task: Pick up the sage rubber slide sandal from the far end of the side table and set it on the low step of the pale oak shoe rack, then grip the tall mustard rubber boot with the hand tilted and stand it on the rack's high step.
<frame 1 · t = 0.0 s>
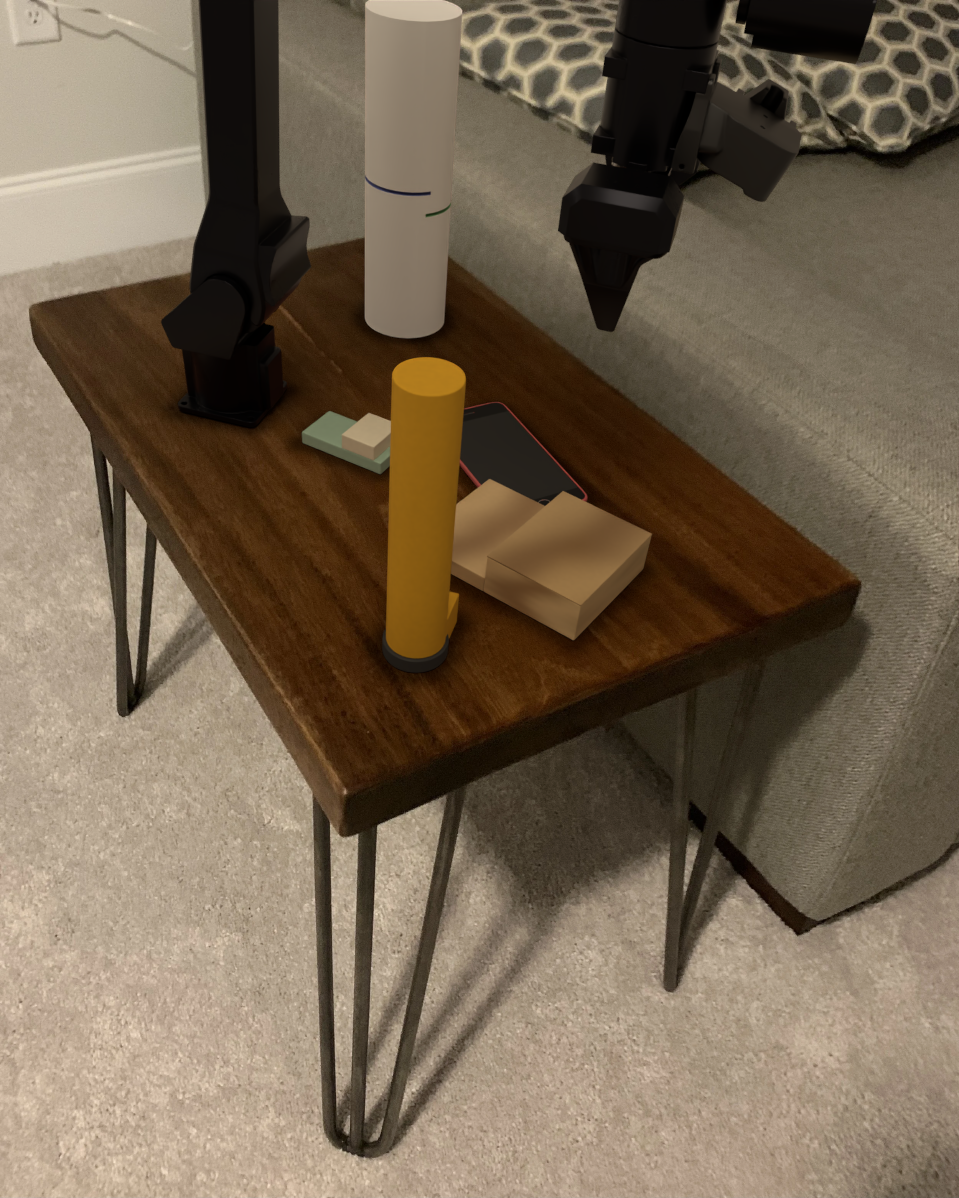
hand: (618, 297, 67), 15 cm above the table, tool pointing down, fingers open, 9 cm apart
sandal: (354, 447, 78), on the table
shoe rack: (527, 560, 70), on the table
boot: (415, 649, 63), on the table
smartphone: (503, 464, 78), on the table, touching shoe rack
cylindrical container: (404, 320, 93), on the table
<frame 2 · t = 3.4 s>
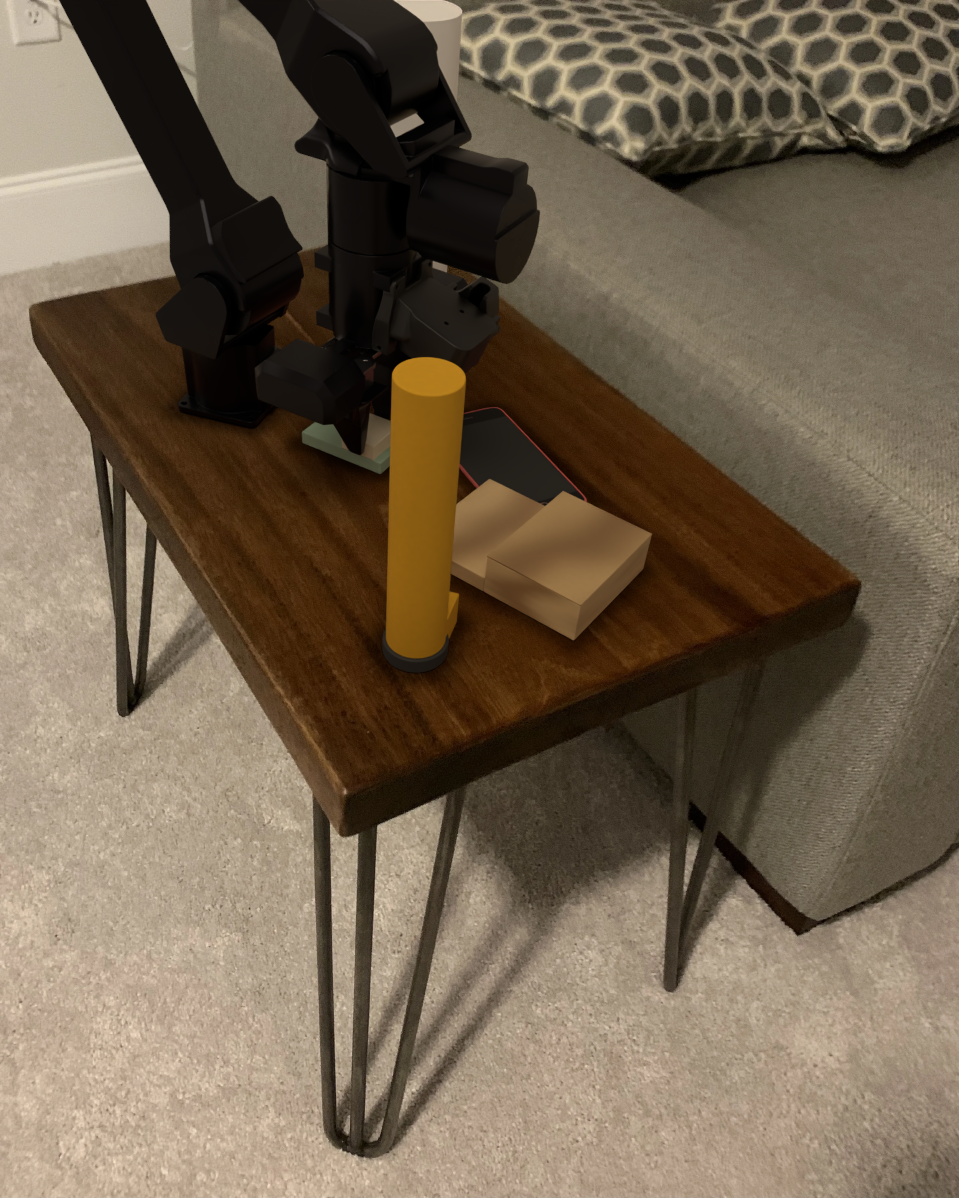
hand: (370, 440, 77), 1 cm above the table, tool pointing down, fingers closed on sandal, 3 cm apart
sandal: (354, 447, 78), on the table, touching gripper
smartphone: (502, 468, 79), on the table
everything else where it was.
when the fingers open (2 cm above the table, at t = 9.0 s): sandal stays where it is, resting on shoe rack.
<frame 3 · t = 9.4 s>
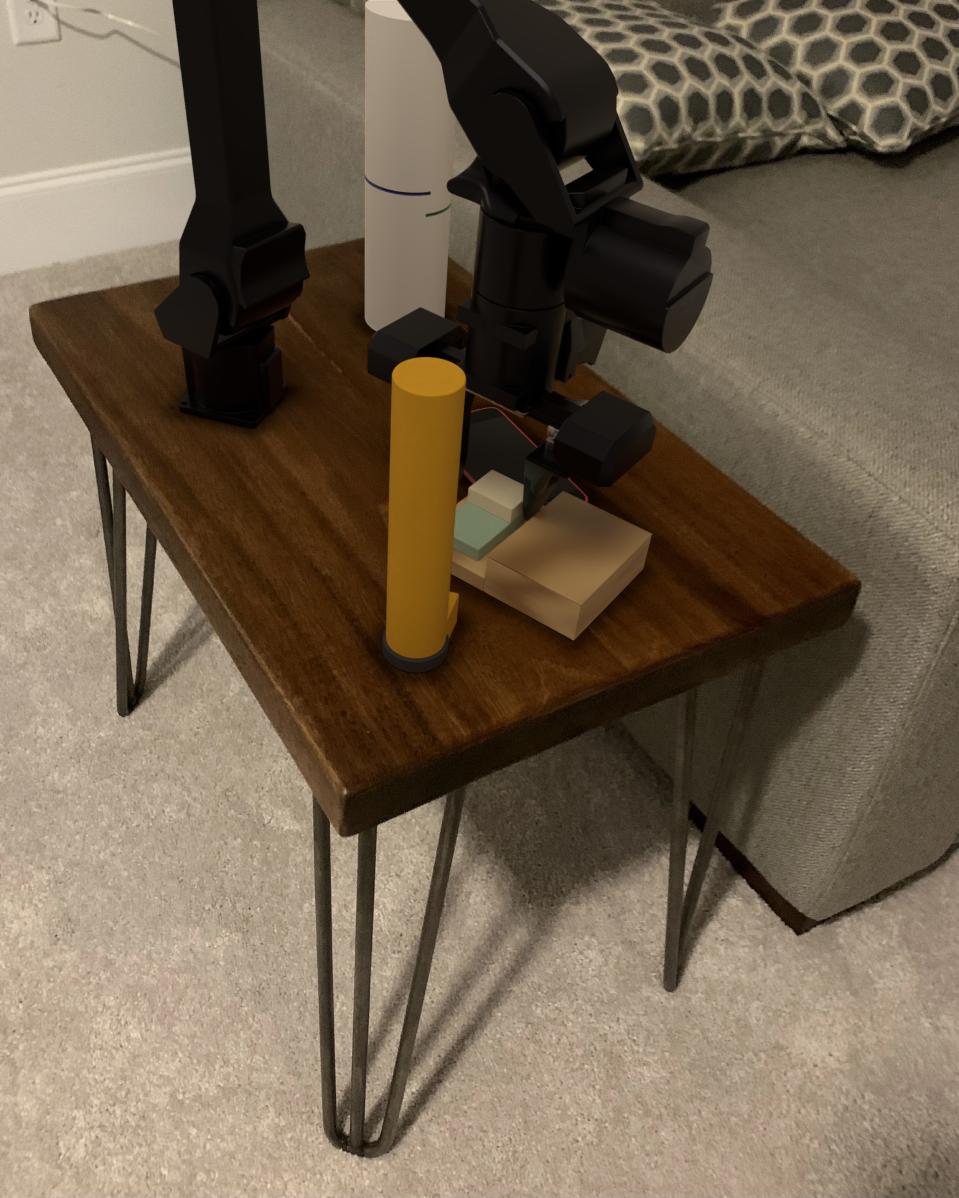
hand: (492, 498, 71), 2 cm above the table, tool pointing down, fingers open, 6 cm apart
sandal: (486, 524, 71), point 1 cm above the table, touching shoe rack
everything else where it was.
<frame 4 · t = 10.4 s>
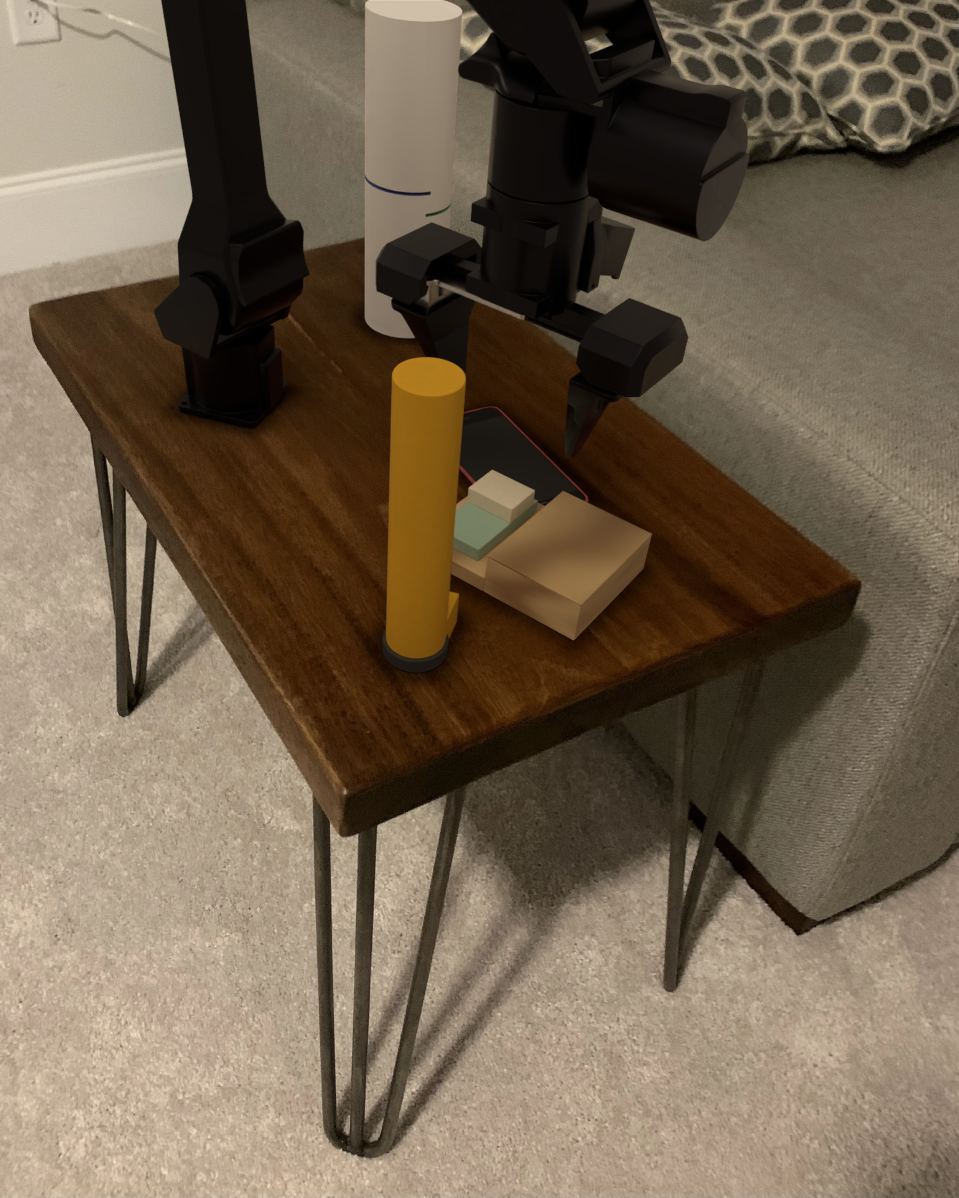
hand: (511, 426, 66), 8 cm above the table, tool pointing down, fingers open, 9 cm apart
nothing on the table moved.
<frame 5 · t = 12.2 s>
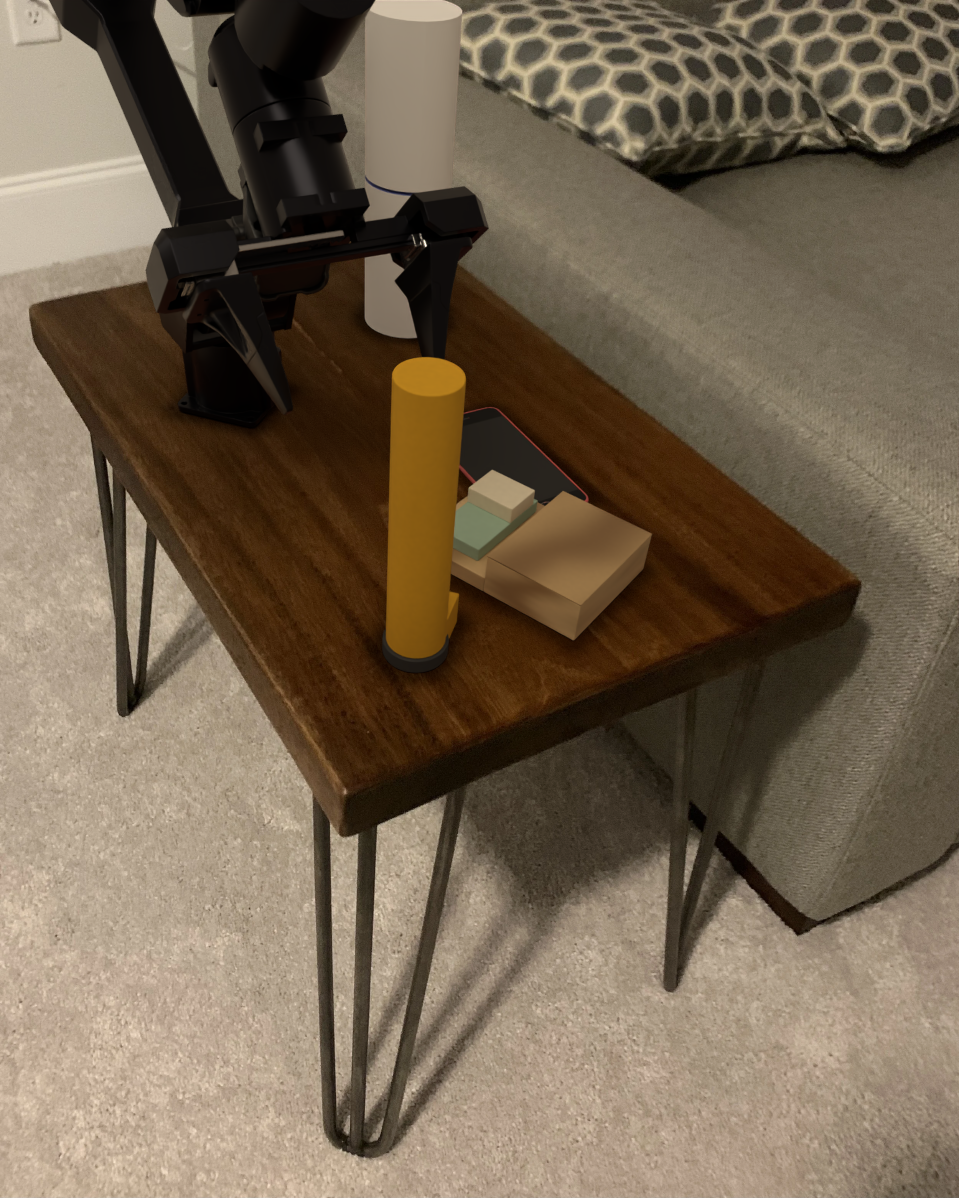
hand: (365, 395, 59), 13 cm above the table, tool tilted 45°, fingers open, 9 cm apart
nothing on the table moved.
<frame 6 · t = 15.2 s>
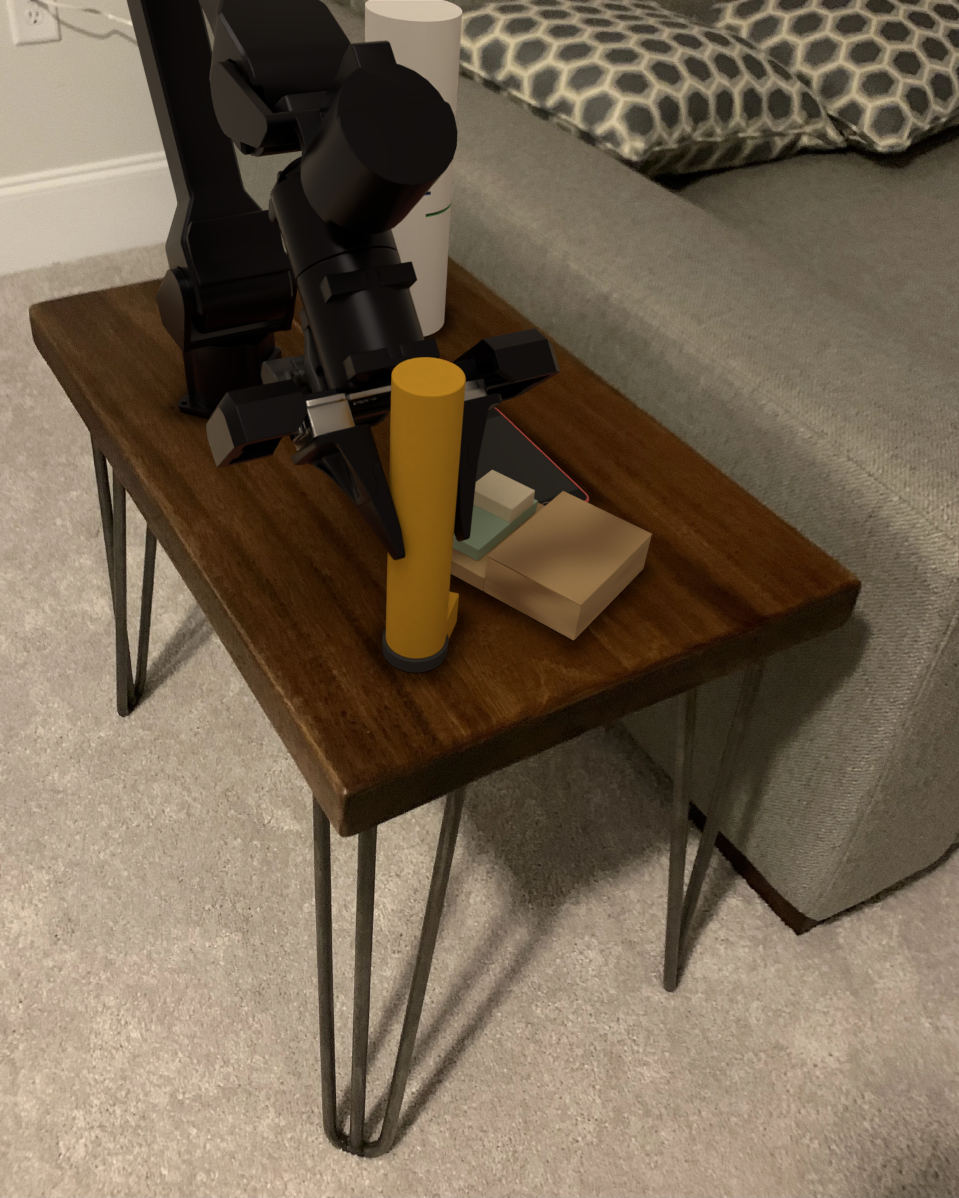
hand: (432, 549, 56), 9 cm above the table, tool tilted 45°, fingers closed on boot, 3 cm apart
boot: (415, 649, 63), on the table, touching gripper
everything else where it was.
when the fingers open (12 cm above the table, at t = 19.5 s): boot stays where it is, resting on shoe rack.
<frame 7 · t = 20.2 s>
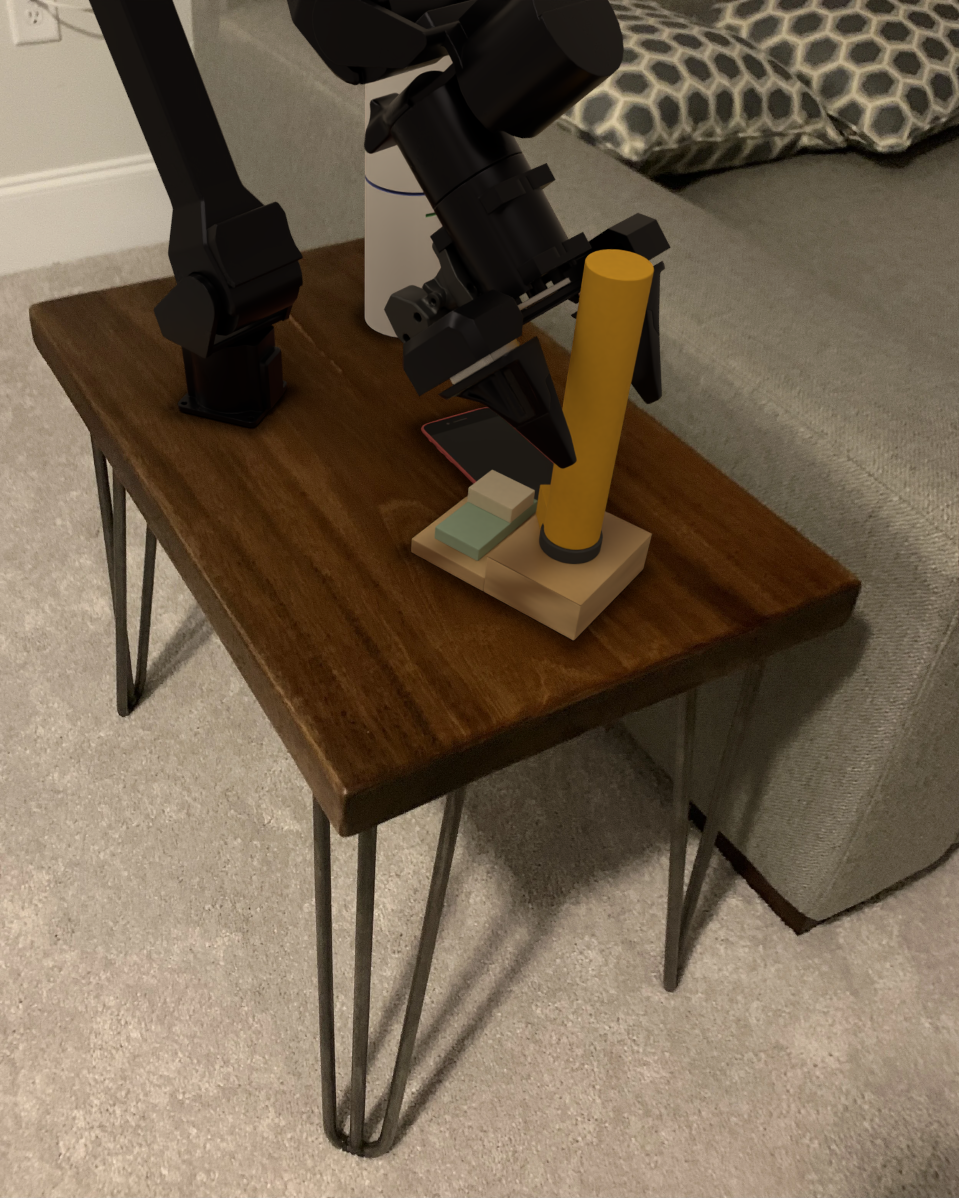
hand: (613, 432, 60), 12 cm above the table, tool tilted 45°, fingers open, 9 cm apart
boot: (569, 544, 67), point 3 cm above the table, touching shoe rack
everything else where it was.
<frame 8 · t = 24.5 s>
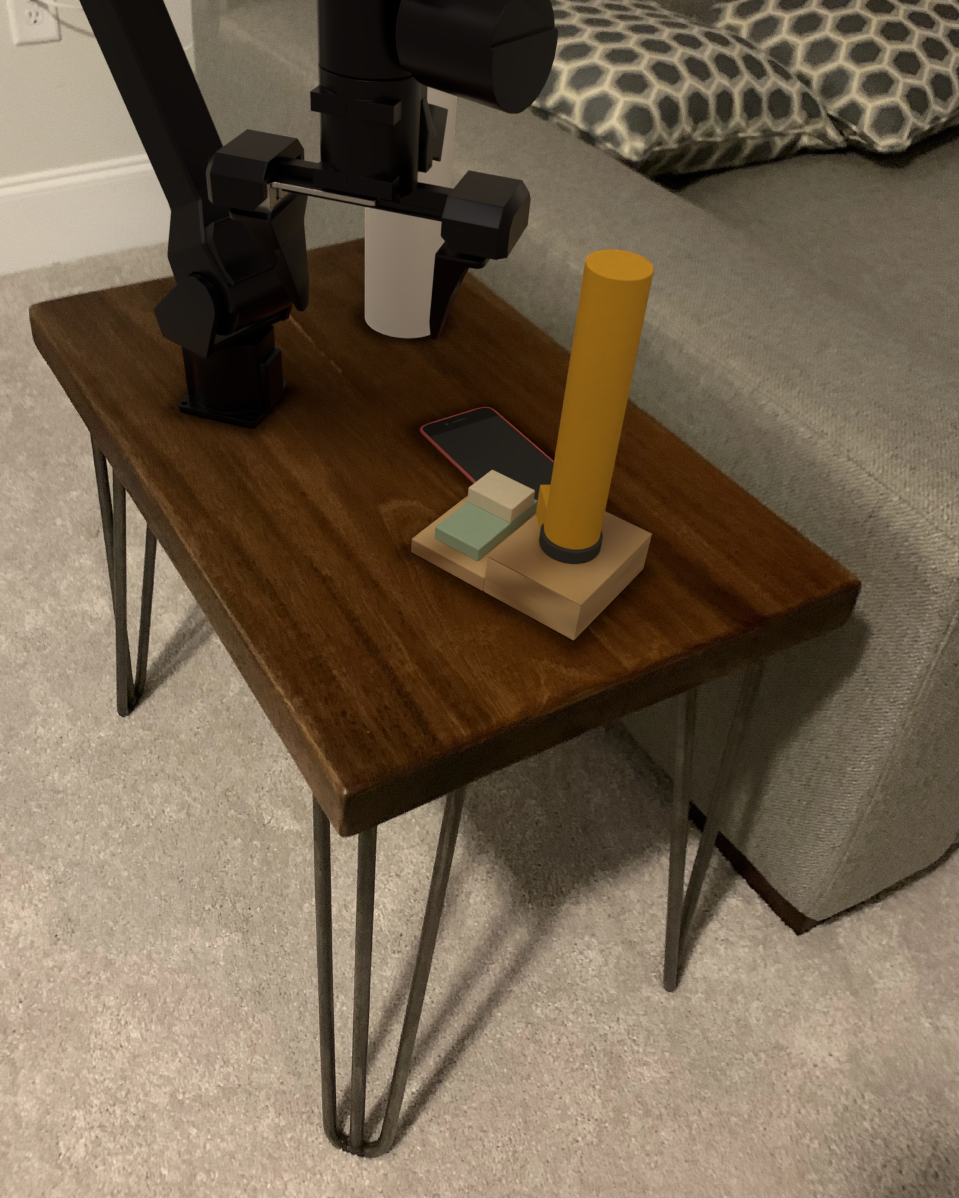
hand: (368, 322, 68), 12 cm above the table, tool pointing down, fingers open, 9 cm apart
nothing on the table moved.
at the end: sandal 0.1 cm from the target spot on the shoe rack, point 1.2 cm above the shoe rack's base; boot 0.3 cm from the target spot on the shoe rack, point 3.1 cm above the shoe rack's base; boot tilted 0° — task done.
